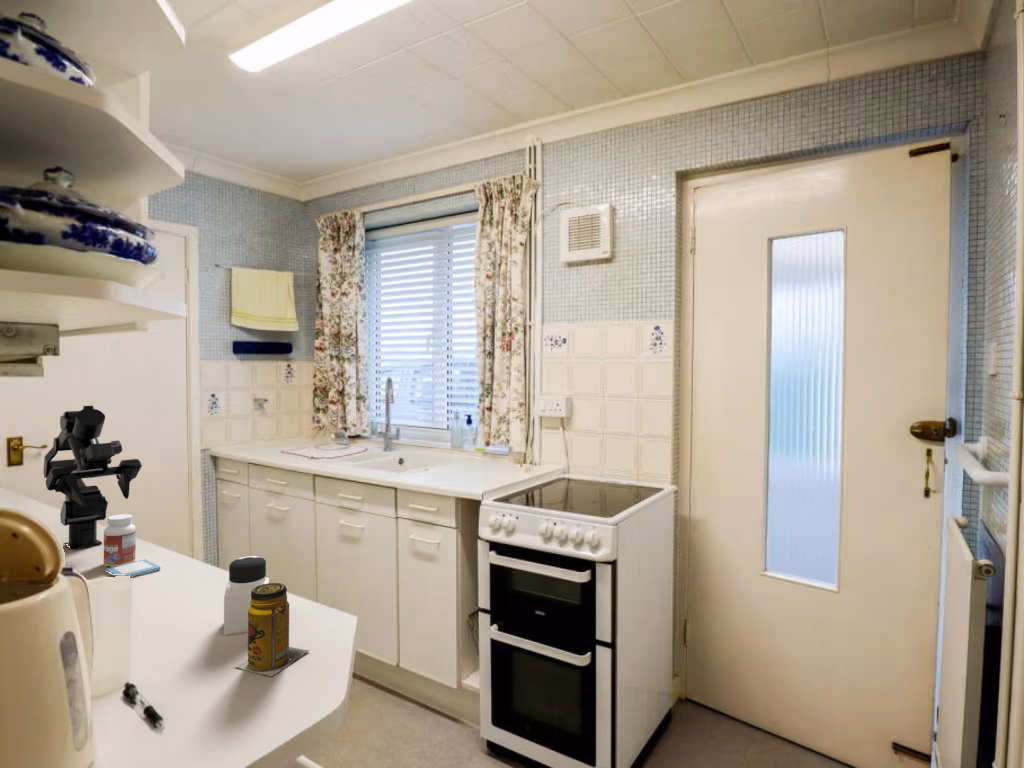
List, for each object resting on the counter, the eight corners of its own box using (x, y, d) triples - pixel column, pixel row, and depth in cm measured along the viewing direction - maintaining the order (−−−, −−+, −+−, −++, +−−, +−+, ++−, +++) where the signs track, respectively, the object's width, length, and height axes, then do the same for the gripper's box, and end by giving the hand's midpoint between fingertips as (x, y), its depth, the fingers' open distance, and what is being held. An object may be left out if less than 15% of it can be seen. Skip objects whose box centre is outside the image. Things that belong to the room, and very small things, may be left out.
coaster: (105, 572, 126) (105, 568, 126) (145, 562, 133) (145, 558, 133) (120, 580, 122) (120, 576, 122) (160, 570, 128) (160, 566, 128)
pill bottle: (97, 565, 130) (97, 518, 130) (123, 557, 136) (123, 512, 136) (115, 569, 128) (115, 521, 128) (141, 561, 134) (141, 514, 134)
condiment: (234, 668, 88) (235, 592, 87) (275, 643, 96) (276, 574, 95) (271, 678, 85) (272, 599, 85) (309, 652, 93) (310, 580, 93)
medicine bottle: (268, 630, 100) (268, 563, 100) (223, 636, 98) (224, 568, 97) (268, 613, 107) (269, 551, 107) (226, 619, 104) (227, 555, 104)
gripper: (50, 433, 131) (68, 487, 125) (138, 427, 146) (159, 475, 141) (37, 463, 135) (55, 516, 130) (124, 454, 151) (143, 501, 145)
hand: (106, 501), depth 136 cm, fingers open, 9 cm apart
